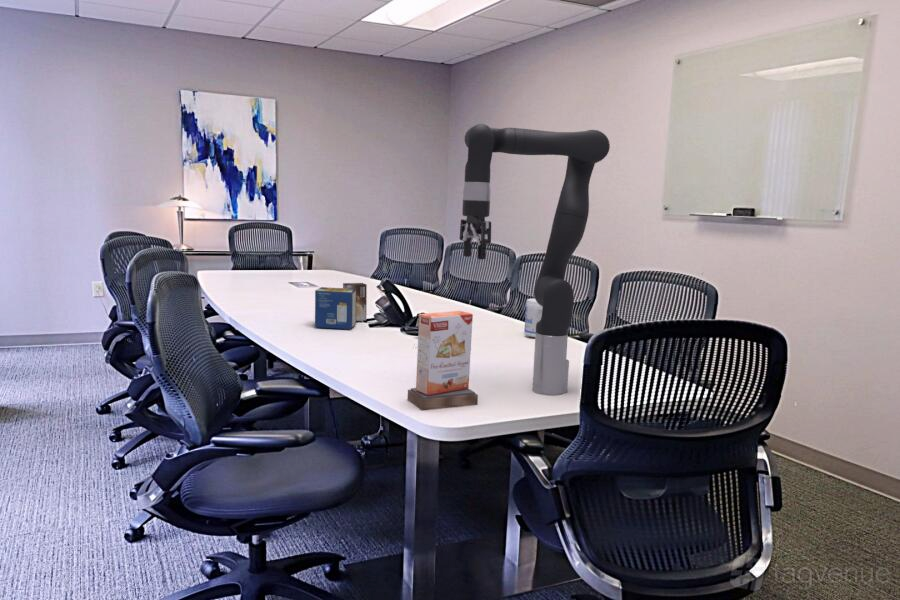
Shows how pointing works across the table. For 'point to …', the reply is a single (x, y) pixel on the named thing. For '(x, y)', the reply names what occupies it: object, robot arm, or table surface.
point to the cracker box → (443, 352)
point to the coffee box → (359, 299)
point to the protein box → (335, 308)
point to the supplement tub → (532, 317)
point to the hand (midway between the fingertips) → (474, 257)
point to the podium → (442, 399)
